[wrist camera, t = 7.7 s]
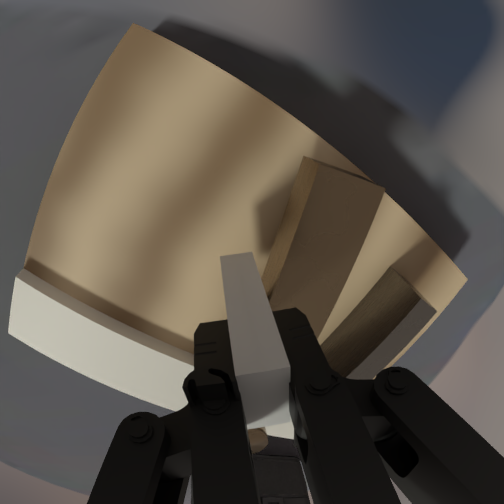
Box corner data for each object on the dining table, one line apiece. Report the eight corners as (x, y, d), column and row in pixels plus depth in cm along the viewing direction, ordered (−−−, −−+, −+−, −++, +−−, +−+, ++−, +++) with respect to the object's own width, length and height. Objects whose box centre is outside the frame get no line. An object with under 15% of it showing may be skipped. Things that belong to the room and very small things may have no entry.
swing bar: (252, 425, 20) (258, 457, 18) (204, 422, 19) (206, 455, 17) (368, 178, 13) (402, 196, 10) (296, 153, 12) (319, 165, 10)
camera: (173, 474, 32) (175, 537, 23) (197, 443, 28) (203, 524, 19) (267, 482, 36) (278, 537, 27) (306, 452, 32) (325, 517, 24)
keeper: (307, 358, 19) (322, 398, 16) (389, 266, 17) (421, 298, 14) (327, 366, 20) (344, 403, 17) (407, 279, 18) (437, 311, 15)
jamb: (31, 299, 18) (-3, 351, 13) (44, 245, 17) (0, 294, 11) (303, 409, 27) (318, 458, 22) (338, 379, 26) (360, 429, 20)
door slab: (44, 245, 17) (23, 268, 14) (146, 37, 12) (133, 23, 10) (338, 379, 26) (349, 403, 23) (445, 261, 21) (467, 279, 19)
